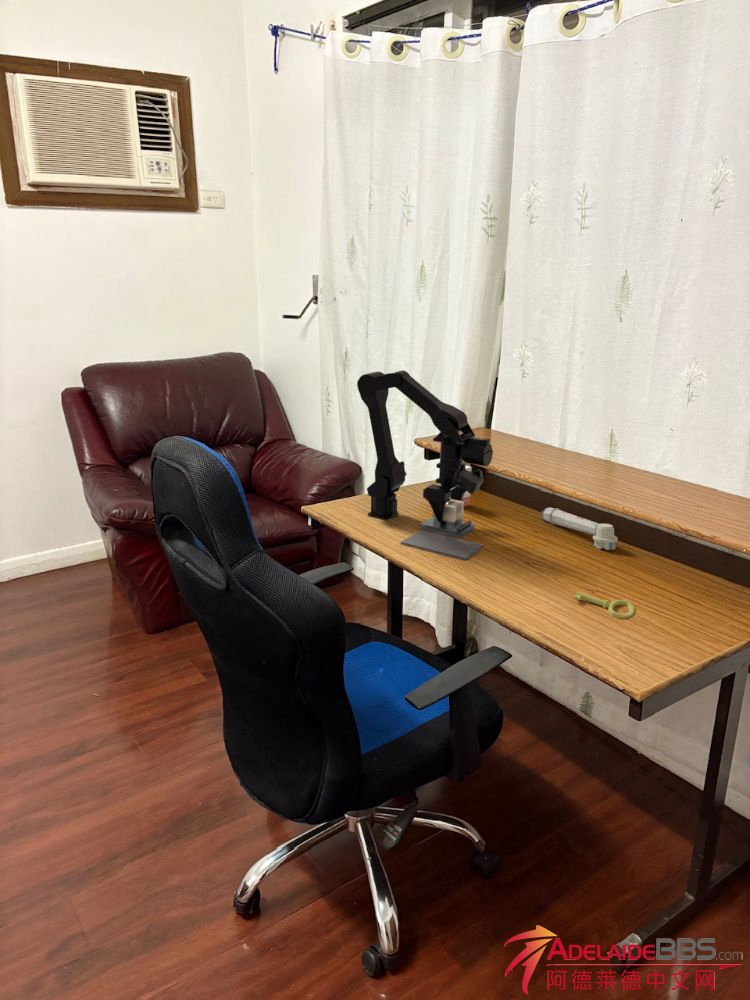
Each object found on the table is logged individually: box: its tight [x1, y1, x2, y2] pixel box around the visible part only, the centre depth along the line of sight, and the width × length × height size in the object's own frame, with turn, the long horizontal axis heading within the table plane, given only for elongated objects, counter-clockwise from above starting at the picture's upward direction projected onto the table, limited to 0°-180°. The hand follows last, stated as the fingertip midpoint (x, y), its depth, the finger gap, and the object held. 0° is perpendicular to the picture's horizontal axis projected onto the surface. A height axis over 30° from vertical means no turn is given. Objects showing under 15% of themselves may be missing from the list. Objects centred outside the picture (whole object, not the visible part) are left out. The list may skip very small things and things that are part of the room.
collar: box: [432, 499, 465, 522], centre depth 191 cm, size 6×6×4 cm
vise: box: [419, 501, 476, 540], centre depth 192 cm, size 12×8×8 cm, turn 58°
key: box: [573, 591, 635, 619], centre depth 151 cm, size 7×12×2 cm, turn 75°
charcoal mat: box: [400, 529, 484, 561], centre depth 182 cm, size 18×10×1 cm, turn 58°
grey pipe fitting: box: [541, 507, 618, 551], centre depth 190 cm, size 5×7×25 cm
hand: (447, 516), depth 192 cm, fingers open, 9 cm apart
